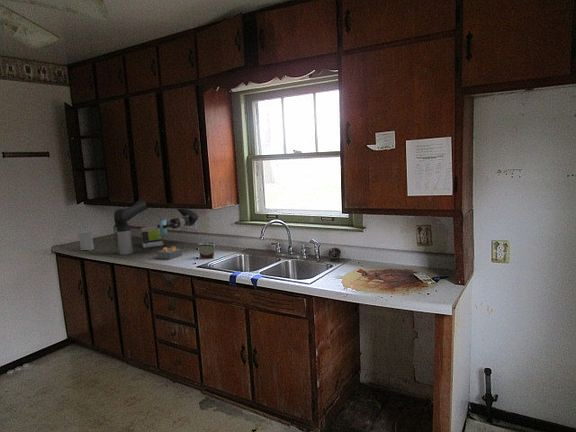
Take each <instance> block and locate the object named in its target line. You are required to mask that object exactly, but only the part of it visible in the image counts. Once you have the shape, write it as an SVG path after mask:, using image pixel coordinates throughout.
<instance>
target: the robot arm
mask: <svg viewBox="0 0 576 432" xmlns="http://www.w3.org/2000/svg"><path fill="white" fill-rule="evenodd" d="M150 208H151V207H146V203H145V201H144V200H143V199H141V198H140V199H138V200H137V201H136V202H135V203H134V204H133V205H132V206H129V207H128V208H118V209H116V210H115V211H114V213H113V219H114V226H115V228H116V232H117V234H116V235H117V248H118V249H117V250H118V255H121V256H122V255H123V256H124V255H130V254H133V253H134V247H133V239H132V229H131V226H130V225H129V223H128V222H129V221H130V220H132V219H133V218H134V217H135V216H137V215H138V214H140V213H142V212H144V211H146V210H148V209H150ZM188 209H189V208H188ZM188 209H176V210H177V212H179V213H180V214H181V217H174V218H171V219H170V220H169V221H166V223H167V225H163V228H167V229H168V228H169V229H170V228H171V229H178V228H183V227H185V226H189V227H192V226H194V225H195V224H196V222H197V221H198V220H199V215H198V214H197V213H196V212H194V211H193V210H191V209H189V210H188ZM156 226H157V228H160V226H159V224H157V225H156Z"/></svg>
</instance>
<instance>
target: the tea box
mask: <svg viewBox="0 0 576 432" xmlns="http://www.w3.org/2000/svg"><path fill="white" fill-rule="evenodd" d="M140 233H141V244H142V246H143V248H151V247H158V246H163V245H164V242H163V241H164V240H163V236H161V235H160V228H157V225H156V226H149V227H142V228H141V227H140Z"/></svg>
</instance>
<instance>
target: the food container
mask: <svg viewBox="0 0 576 432" xmlns="http://www.w3.org/2000/svg"><path fill="white" fill-rule="evenodd" d="M197 247H198V253H199V258H200V259H209V260H210V259H211V260H212V259H215V247H216V244H215V243H214V242H210V241H209V242H208V241H207V242H199V243H198V244H197Z"/></svg>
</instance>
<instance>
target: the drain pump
mask: <svg viewBox="0 0 576 432" xmlns="http://www.w3.org/2000/svg"><path fill="white" fill-rule="evenodd" d="M166 222H167V219H166V218H165V217H164V218H163V217H161V218H159V220H158V225H159V226H160V235H161V236H162V237H163V236H168V235H169V234H168V228H163V225H167V223H166Z"/></svg>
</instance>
